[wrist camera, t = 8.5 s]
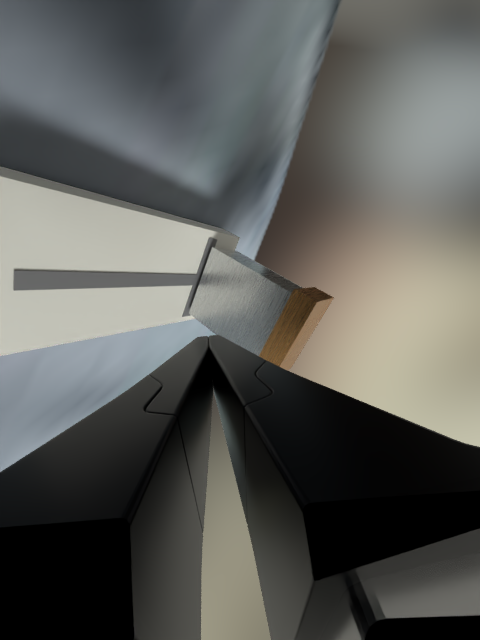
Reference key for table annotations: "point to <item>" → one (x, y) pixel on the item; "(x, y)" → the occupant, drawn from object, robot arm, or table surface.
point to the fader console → (92, 264)
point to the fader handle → (257, 307)
